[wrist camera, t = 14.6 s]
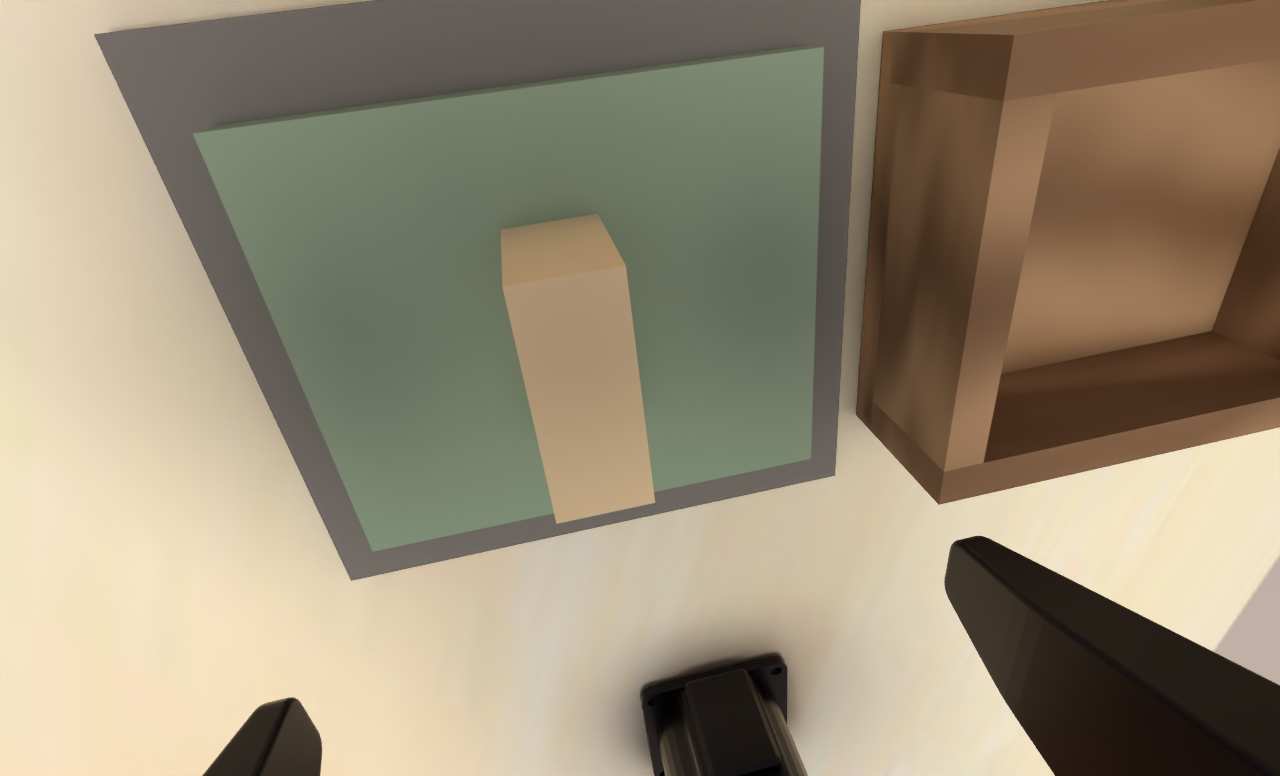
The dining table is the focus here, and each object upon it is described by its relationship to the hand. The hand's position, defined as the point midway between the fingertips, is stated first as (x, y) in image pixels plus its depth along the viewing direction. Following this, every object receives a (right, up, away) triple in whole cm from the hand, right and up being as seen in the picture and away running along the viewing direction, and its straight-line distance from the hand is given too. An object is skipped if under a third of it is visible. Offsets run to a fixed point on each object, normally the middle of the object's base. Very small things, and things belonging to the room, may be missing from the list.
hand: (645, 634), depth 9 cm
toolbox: (+14, +10, +11) cm, 21 cm away
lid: (-2, +5, +10) cm, 11 cm away
